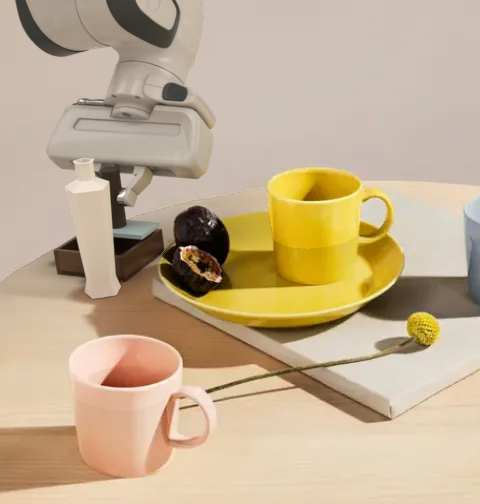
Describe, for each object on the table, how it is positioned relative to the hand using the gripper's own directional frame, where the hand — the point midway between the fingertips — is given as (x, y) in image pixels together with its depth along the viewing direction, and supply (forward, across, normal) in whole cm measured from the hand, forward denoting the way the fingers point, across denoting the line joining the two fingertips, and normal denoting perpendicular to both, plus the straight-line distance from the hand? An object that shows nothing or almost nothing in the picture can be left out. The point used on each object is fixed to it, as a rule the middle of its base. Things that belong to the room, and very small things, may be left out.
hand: (111, 203), depth 111 cm
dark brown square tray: (+6, 0, +4) cm, 7 cm away
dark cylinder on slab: (+2, 0, +3) cm, 4 cm away
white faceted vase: (+11, +3, -1) cm, 12 cm away
